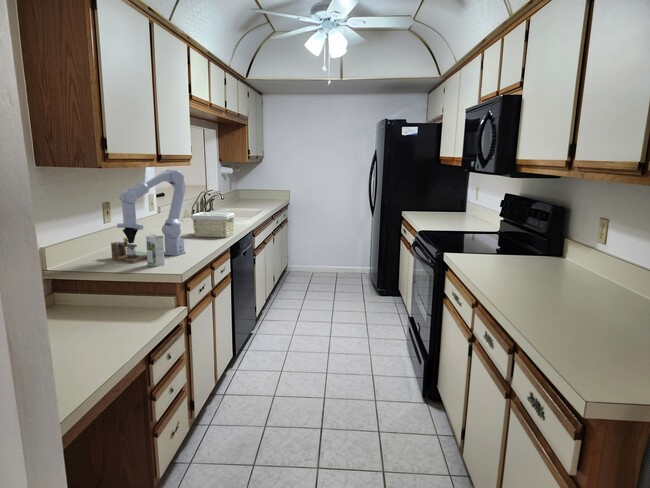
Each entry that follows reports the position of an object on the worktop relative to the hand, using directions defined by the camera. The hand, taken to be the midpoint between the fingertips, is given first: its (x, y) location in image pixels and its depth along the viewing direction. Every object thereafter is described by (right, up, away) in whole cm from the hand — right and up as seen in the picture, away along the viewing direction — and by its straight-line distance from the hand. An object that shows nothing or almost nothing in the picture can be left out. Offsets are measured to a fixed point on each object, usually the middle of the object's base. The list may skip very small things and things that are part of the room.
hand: (131, 243), depth 206 cm
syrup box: (+15, -11, -7) cm, 20 cm away
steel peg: (-1, -8, +2) cm, 9 cm away
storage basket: (+22, +5, +70) cm, 74 cm away
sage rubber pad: (-2, -6, +13) cm, 14 cm away
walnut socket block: (-3, -8, +3) cm, 9 cm away
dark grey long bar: (-5, -1, +2) cm, 5 cm away
